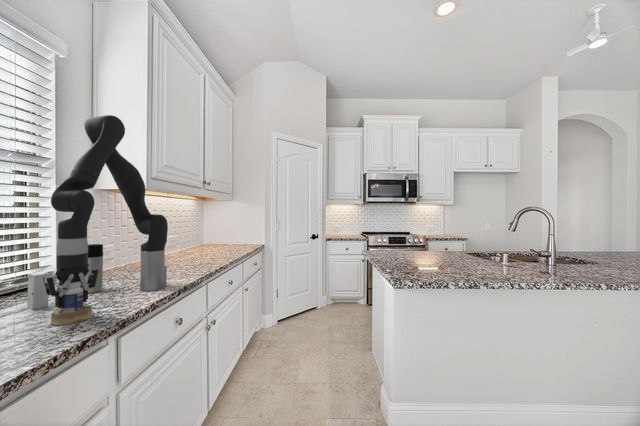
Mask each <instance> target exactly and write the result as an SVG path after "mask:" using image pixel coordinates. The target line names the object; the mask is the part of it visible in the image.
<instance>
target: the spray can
mask: <svg viewBox="0 0 640 426" xmlns="http://www.w3.org/2000/svg"><path fill="white" fill-rule="evenodd" d="M103 263H104V244H101V243H93V244H89V243H88V265H87V268H88V269H97V270H98V275H97V279H96V284H95V287H92V288H90V289H89V290H88V295H89V294H95V293H100V292H102V290H103V277H104V276H103V272H104V271H103V268H104V264H103ZM88 277H89V275H88V273H87V275H86V276H85V279H86V281H88Z"/></svg>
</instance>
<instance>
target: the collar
mask: <svg viewBox="0 0 640 426" xmlns="http://www.w3.org/2000/svg"><path fill="white" fill-rule="evenodd" d="M92 306H93V305H90V304H86V303H85V304H84V303H83V310H80V311H76V312H72V313H61V308H57V309H55V310H53V312H52V313H51V319H50V325H53V326H67V325H66V324H69V325H73V323H74V324H79V323H81V321H82V322H85V321H87V320H89V319H91V318H92V317H93V312H92V310H93V309H92ZM86 319H87V320H86ZM84 320H85V321H84Z"/></svg>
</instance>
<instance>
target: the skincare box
mask: <svg viewBox="0 0 640 426" xmlns="http://www.w3.org/2000/svg"><path fill="white" fill-rule="evenodd" d="M49 276H51V273H48V272H47V271H44V270H42V271H35V272H29V273H28V276H27V277H28V279H27V281H28V282H27V299H26V300H27V301H26V307H28V309H30V310H38V309H43V308H46V307H49V296H50V295H47V293H46V289H45V285H44V281H43V278H44V277H49Z"/></svg>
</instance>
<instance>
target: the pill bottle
mask: <svg viewBox="0 0 640 426" xmlns="http://www.w3.org/2000/svg"><path fill="white" fill-rule="evenodd" d="M80 286H81V281H80V282H75V283H70V284H69V286H68V288H67V289H66V290H65V292H64V295H63V296H64V308H61V313H72V312H76V311H80V310H83V304H84V302H83V288H81V287H80Z"/></svg>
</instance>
